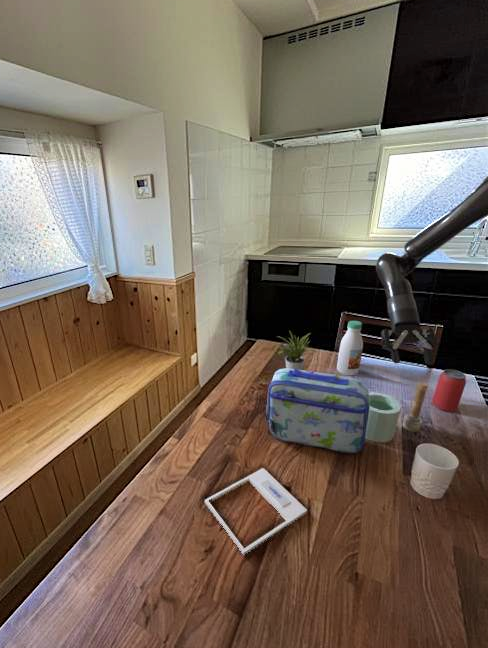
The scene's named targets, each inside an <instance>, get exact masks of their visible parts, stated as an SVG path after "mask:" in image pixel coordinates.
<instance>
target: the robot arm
mask: <svg viewBox="0 0 488 648" xmlns="http://www.w3.org/2000/svg"><path fill="white" fill-rule="evenodd" d="M487 216H488V175H487V176H486V177H485V178H484V179H483V180H482V182H481V183H480V184H479V185H478V187H476V188H475V189H474V190H473V191H472V192H471V193H470V194H469V195H468V196H467V197H466V198H465V199H464V200H462V201H461V202H460V203H459V204H458V205H457V206H456V207H454V208H452V209H451V210H450V211H449V212H447V213H445V214H444V215H443V216H441V217H440V218H438V219H437V220H435V221H434V222H432V223H431V224H429V225H428V226H427V227H425V228H424V229H422V230H421V231H420V232H418V233H417V234H416V235H414V236H413V237H412V238H410V239H409V240H408V241H407V242H406V243H405V244H404V247H403V248H404V254H403V255H398V254H395V253H393V252H385V253H382V254H381V255H380V256H379V257H378V258H377V260H376V263H375V271H376V275H377V277H378V279H379V281H380V283H381V286H382V287H383V289H384V291H385V292H384V294H385V298H386V308H387V315H388V318H389V324H390V328H391V329H388V328H384V329H383V330H382V331H381V332H380V337H381V346H382V347H381V348H382V350H385V351H388V352H390V358H391V361H392V362H393V363H394V364H400V363H401V358H400V351H399V349H398V348H399V346H400V344H401V345H415V346H416V347H419V348H420V350H422V355H423V360H424V363H425V364H427V365H430V364H431V363H432V362H433V361H434V355H433V352H432V350H434V349H437V348H438V347H439V343H438V341H437V338H436V334H435V331H434V328H432V327H429V328H428V329H422V327H421V321H420V317H419V312H418V308H417V303H416V300H415V297H414V294H413V290H412V285H411V283H410V281H409V280H408V279H406V278H405V277H407V276H408V275H409V274H411V273H412V272H413V271H414V270H415V269H416V268H417V267H418V266H419V265H420V264H421V262H422V261H423V260H424V259H425V258H427V257H428V256H430V255H432V254H433V253H434V252H436V251H437V250H439V249H441V248H442V247H443V246H445V245H446V244H447V243H448V242H450V241H451V240H452V239H454V238H455V237H456V236H458V235H459V234H461V233H462V232H463V231H464V230H466V229H467V228H469V227H470V226H472V225H474V224H475V223H477V222H479V221H481V220H482V219H484V218H485V217H487ZM390 336H392V337H393V338H394V340H393V342H392V343H391V339H390Z"/></svg>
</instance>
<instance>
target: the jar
mask: <svg viewBox="0 0 488 648" xmlns="http://www.w3.org/2000/svg"><path fill="white" fill-rule="evenodd" d="M369 404H370V411H369V419H368V424H367V429H366V435H365V440H368V441H371V442H375V443H388V442H391V441H392V440H393V438H395V437H394V436H395V433H396V429H397V425H398V422H399V417H400V414H401V409H402V405H401V403H400V402H399V401H398V400H397V399H396V398H394V397H393V396H390V395H388V394H386V393H382V392H374V391H371V392H370V391H369Z"/></svg>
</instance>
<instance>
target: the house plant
mask: <svg viewBox="0 0 488 648" xmlns="http://www.w3.org/2000/svg"><path fill="white" fill-rule="evenodd" d="M288 332H289V335H290V338H289V337H288V339H289V341H288V340H287V338H285V337H282V336H278V335H277V336H276V337H277V338H279V339H282V341H284V342H280V343H282V344H285V345H286V347H287V348H286V347H284V346H280V345H275V344H274V346H275V347H276V348H278V349H280V350H279V351H278V353H277V355H279V354H286V356H285V358H284V361H285V368H288V369H297V370H303V367H304V364H305V361H306V360H305V358H304V356H303V355H305V354H309V355H312V352H307V347H309V343H310V342H311V340H309V338H310V337H309V335H311V334H312V333H311V332H309V333H307V334H306V335H304V336H302V337H301V338H300V337H299V336H298V337H297V336H296V334H293V332H292V331H290V330H289V331H288ZM299 339H300V340H299ZM308 340H309V341H308Z"/></svg>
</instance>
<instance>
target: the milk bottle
mask: <svg viewBox="0 0 488 648" xmlns="http://www.w3.org/2000/svg"><path fill="white" fill-rule="evenodd" d="M362 327H363V323H362V322H361V321H359V320H349V321H348V322H347V330H346V331H345V334H344V335H343V337H342V338H341V340H340V343H339V349H338V357H337V363H336V370H337V371H338V372H339V373H341V374H342V375H344V376H345V375H346V376H355V375H357V374H358V373H359V371H360V367H361V362H362V355H363V349H364V340H363V338H362V334H361V331H362Z"/></svg>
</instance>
